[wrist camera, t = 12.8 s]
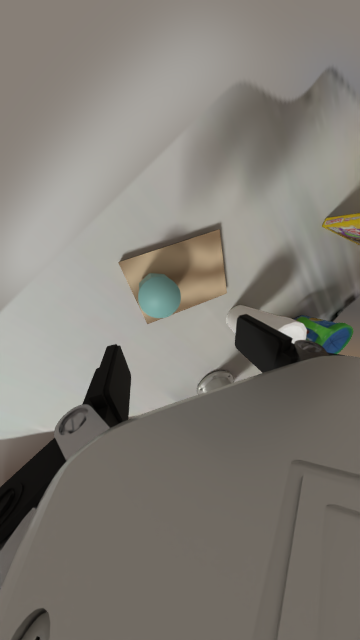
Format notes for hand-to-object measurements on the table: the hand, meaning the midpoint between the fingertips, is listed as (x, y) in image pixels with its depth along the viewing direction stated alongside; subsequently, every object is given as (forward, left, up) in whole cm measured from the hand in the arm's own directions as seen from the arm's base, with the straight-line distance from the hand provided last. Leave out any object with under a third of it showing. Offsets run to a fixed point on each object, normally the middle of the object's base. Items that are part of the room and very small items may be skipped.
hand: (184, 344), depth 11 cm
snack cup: (-25, -37, -19) cm, 49 cm away
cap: (0, 0, -16) cm, 16 cm away
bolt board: (0, -5, -19) cm, 19 cm away
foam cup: (-13, -17, -19) cm, 29 cm away
